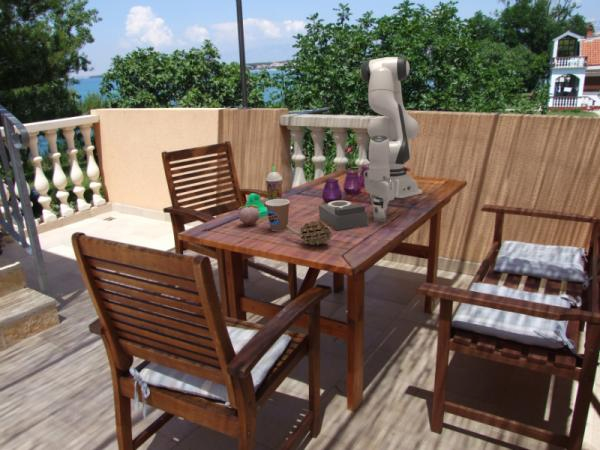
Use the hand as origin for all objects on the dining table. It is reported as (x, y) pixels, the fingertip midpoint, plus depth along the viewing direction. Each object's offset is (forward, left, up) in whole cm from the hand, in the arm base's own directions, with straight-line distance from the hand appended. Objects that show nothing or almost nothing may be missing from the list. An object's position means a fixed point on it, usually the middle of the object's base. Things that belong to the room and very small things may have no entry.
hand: (379, 206), depth 225 cm
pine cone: (+38, +13, -7) cm, 41 cm away
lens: (0, 0, -6) cm, 6 cm away
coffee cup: (+43, -10, -7) cm, 44 cm away
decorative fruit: (+53, -22, -7) cm, 58 cm away
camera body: (+15, -6, -6) cm, 17 cm away
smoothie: (+33, -46, -7) cm, 57 cm away
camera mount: (+45, -35, -7) cm, 57 cm away
